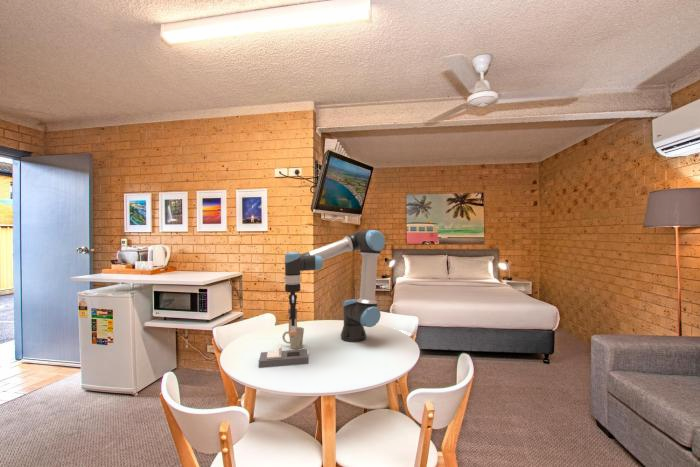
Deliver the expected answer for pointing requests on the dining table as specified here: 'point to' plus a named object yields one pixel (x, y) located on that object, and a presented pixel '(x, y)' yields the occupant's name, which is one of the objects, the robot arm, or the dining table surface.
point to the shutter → (275, 353)
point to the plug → (289, 324)
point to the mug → (295, 338)
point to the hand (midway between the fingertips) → (292, 330)
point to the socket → (285, 358)
